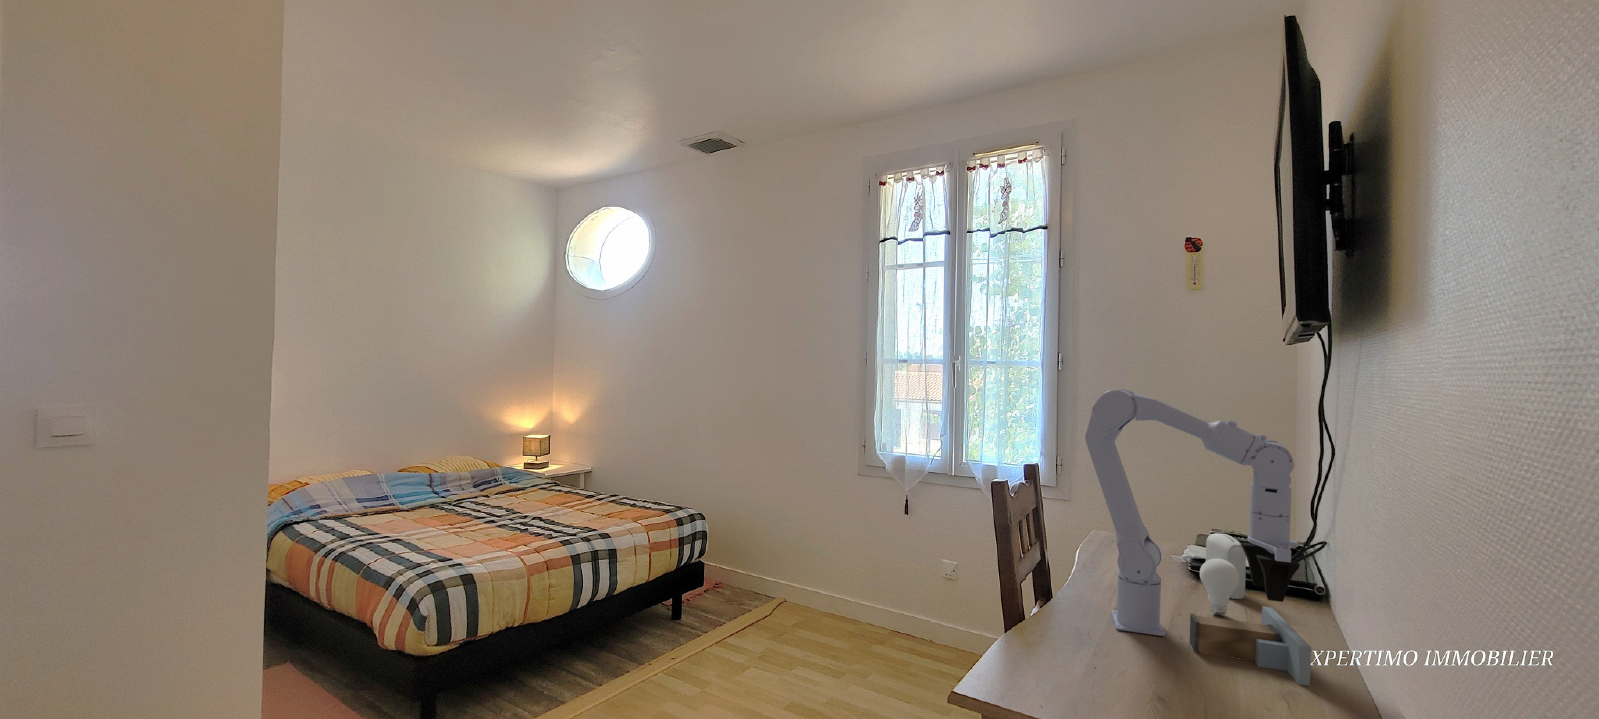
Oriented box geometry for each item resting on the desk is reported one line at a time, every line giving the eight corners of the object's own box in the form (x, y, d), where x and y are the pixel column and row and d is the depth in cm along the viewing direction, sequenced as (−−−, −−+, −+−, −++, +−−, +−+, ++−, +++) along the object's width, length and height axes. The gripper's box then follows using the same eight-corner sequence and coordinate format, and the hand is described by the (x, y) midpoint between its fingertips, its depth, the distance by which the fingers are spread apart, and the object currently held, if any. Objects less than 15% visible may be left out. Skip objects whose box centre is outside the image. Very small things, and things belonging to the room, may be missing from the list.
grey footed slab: (1235, 636, 123) (1236, 603, 123) (1270, 641, 121) (1271, 607, 121) (1267, 679, 106) (1269, 640, 106) (1309, 685, 104) (1310, 646, 104)
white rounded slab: (1201, 583, 153) (1203, 528, 153) (1221, 584, 153) (1223, 529, 153) (1226, 599, 143) (1228, 540, 143) (1248, 600, 143) (1250, 541, 143)
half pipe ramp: (1194, 652, 116) (1195, 621, 116) (1189, 642, 120) (1190, 613, 120) (1279, 665, 112) (1280, 633, 112) (1271, 655, 116) (1272, 624, 116)
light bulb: (1224, 609, 137) (1226, 554, 137) (1245, 622, 130) (1247, 564, 130) (1191, 608, 137) (1193, 553, 137) (1210, 620, 130) (1212, 563, 130)
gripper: (1314, 525, 108) (1312, 610, 108) (1282, 507, 121) (1280, 583, 121) (1262, 520, 110) (1260, 604, 110) (1237, 503, 124) (1234, 578, 124)
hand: (1267, 593), depth 116 cm, fingers open, 7 cm apart
